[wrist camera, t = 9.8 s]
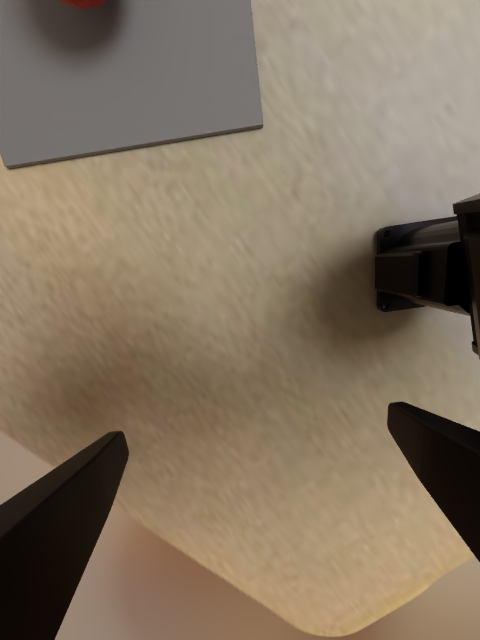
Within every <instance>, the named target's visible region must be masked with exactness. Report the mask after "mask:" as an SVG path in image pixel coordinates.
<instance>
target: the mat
mask: <svg viewBox="0 0 480 640" xmlns="http://www.w3.org/2000/svg"><path fill="white" fill-rule="evenodd" d="M257 128H263V117H262V107H261V97H260V88H259V78H258V68H257V59H256V49H255V39H254V30H253V20H252V10H251V0H107V1H106V2H105V3H104V4H103V5H101V6H100V7H94V8H87V9H79V8H76V7H73V6H70V5H67V4H64V3H63V2H61V1H59V0H0V154H1V157H2V160H3V163H4V166H5V167H7V168H10V169H12V168H18V167H24V166H30V165H36V164H42V163H49V162H55V161H61V160H67V159H73V158H79V157H85V156H92V155H98V154H104V153H110V152H116V151H122V150H128V149H134V148H141V147H147V146H153V145H159V144H165V143H171V142H177V141H184V140H190V139H196V138H202V137H208V136H214V135H220V134H227V133H233V132H239V131H245V130H251V129H257Z"/></svg>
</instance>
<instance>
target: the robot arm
mask: <svg viewBox="0 0 480 640" xmlns="http://www.w3.org/2000/svg"><path fill="white" fill-rule="evenodd" d="M453 210H454V214H457V216H455V217H448V218H442V219H435V220H428V221H422V222H415V223H409V224H402V225H395V226H389V227H384V228H381V229H380V230H379V231H378V233H377V256H376V258H375V288H376V289H377V308H378V310H380V311H383V312H389V311H396V310H403V309H410V308H417V307H424V306H429V307H433V308H438V309H442V310H446V311H451V312H455V313H460V314H464V315H468V316H470V317H471V325H472V332H473V340H474V341H473V342H472V350H473V351H474V352H475V353H476V354H477V355H479V359H480V194H477V195H475V196H472V197H470V198H467V199H464V200H462V201H459V202H456V203H454V204H453ZM385 231H386V232H387V236H386V237H384V235H383V234H384V232H385ZM384 303H386V307H385V308H383V305H384ZM387 426H388V429H389V432H390V433H391V435H392V437H393V438H394V440H395V442H396V443H397V445H398V446H399V448H400V450H401V451H402V453H403V455H404V456H405V458H406V459H407V461H408V463H409V464H410V466H411V468H412V469H413V471H414V472H415V474H416V476H417V477H418V479H419V480H420V481H421V483H422V484H423V486H424V487H425V488H426V490H427V491H428V493H429V494H430V495H431V497H432V498H433V499H434V501H435V502H436V503H437V505H438V506H439V508H440V509H441V510H442V512H443V513H444V514H445V516H446V517H447V518H448V520H449V521H450V522H451V524H452V525H453V527H454V528H455V529H456V531H457V532H458V533H459V535H460V536H461V537H462V539H463V540H464V542H465V543H466V544H467V546H468V547H469V548H470V550H471V551H472V552H473V554H474V555H475V556H476V558H477V559H478V561H479V562H480V432H479V431H477V430H474V429H472V428H469V427H466V426H464V425H461V424H459V423H456V422H454V421H451V420H449V419H446V418H443V417H441V416H438V415H436V414H433V413H431V412H428V411H425V410H423V409H420V408H418V407H415V406H413V405H410V404H408V403H405V402H393V403H390V404H389V406H388V419H387ZM128 456H129V450H128V446H127V442H126V439H125V435H124V433H123V432H122V431H113V432H109V433H107V434H106V435H104V436H103V437H101V438H100V439H98V440H97V441H95V442H94V443H92V444H91V445H89V446H88V447H86V448H85V449H83V450H82V451H80V452H79V453H77V454H76V455H74V456H73V457H71V458H70V459H68V460H67V461H65V462H64V463H62V464H61V465H59V466H58V467H57V468H55V469H54V470H52V471H51V472H49V473H48V474H46V475H45V476H43V477H42V478H40V479H39V480H37V481H36V482H35V483H33V484H31V485H30V486H28V487H27V488H25V489H24V490H22V491H21V492H19V493H18V494H16V495H15V496H13V497H12V498H11V499H9V500H7V501H6V502H4V503H3V504H1V505H0V640H55V637H56V635H57V632H58V630H59V628H60V626H61V624H62V621H63V619H64V616H65V614H66V612H67V609H68V607H69V605H70V603H71V600H72V598H73V596H74V594H75V591H76V589H77V586H78V584H79V582H80V580H81V577H82V575H83V573H84V570H85V568H86V566H87V563H88V561H89V559H90V556H91V554H92V552H93V550H94V547H95V545H96V543H97V540H98V538H99V536H100V534H101V531H102V529H103V526H104V524H105V522H106V520H107V517H108V515H109V512H110V510H111V507H112V505H113V502H114V499H115V496H116V493H117V490H118V487H119V484H120V481H121V478H122V475H123V472H124V469H125V466H126V463H127V460H128Z"/></svg>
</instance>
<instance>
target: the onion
mask: <svg viewBox="0 0 480 640" xmlns="http://www.w3.org/2000/svg"><path fill="white" fill-rule="evenodd" d="M59 1H61V2H63V3H64V4H67V5H70V6H73V7H76V8H79V9H87V8H94V7H100V6H101V5H103V4H104V3H105V2H106V1H107V0H59Z"/></svg>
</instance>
